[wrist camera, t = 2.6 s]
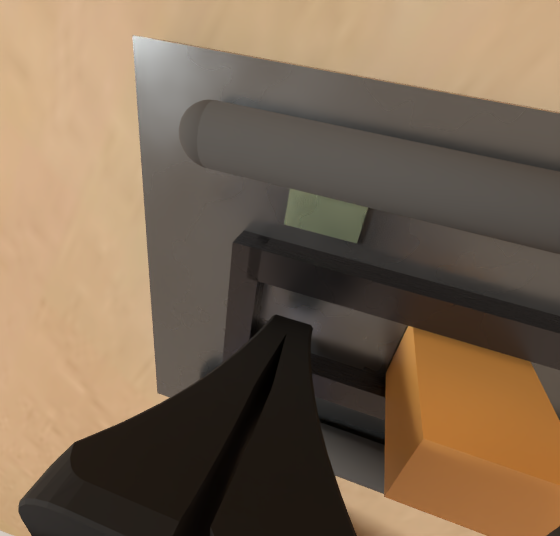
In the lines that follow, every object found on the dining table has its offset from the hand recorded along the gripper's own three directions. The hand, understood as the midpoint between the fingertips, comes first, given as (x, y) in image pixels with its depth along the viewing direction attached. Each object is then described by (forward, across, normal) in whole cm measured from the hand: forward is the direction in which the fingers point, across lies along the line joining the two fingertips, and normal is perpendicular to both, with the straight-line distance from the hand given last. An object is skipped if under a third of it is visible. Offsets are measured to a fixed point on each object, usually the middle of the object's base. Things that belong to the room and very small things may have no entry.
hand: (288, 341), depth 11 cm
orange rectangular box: (+2, -6, 0) cm, 6 cm away
